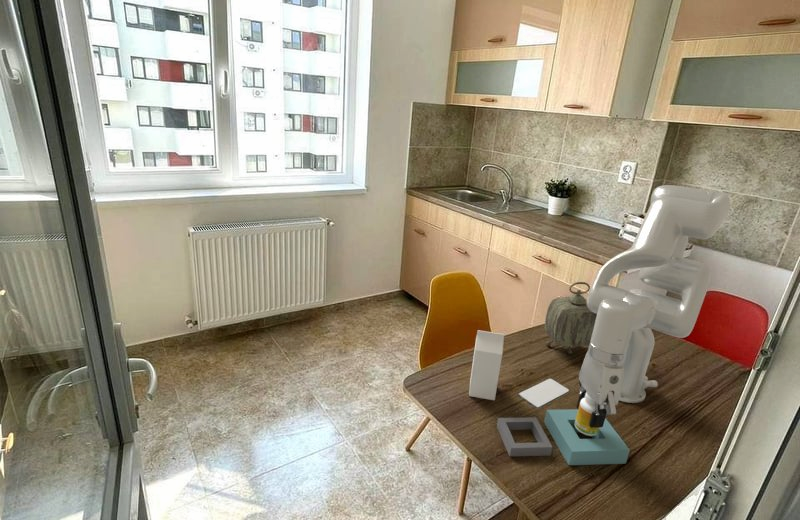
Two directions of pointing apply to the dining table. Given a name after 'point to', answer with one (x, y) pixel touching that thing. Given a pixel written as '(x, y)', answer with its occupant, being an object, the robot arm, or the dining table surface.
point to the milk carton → (486, 365)
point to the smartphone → (543, 392)
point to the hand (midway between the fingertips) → (589, 416)
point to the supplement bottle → (586, 416)
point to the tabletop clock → (570, 320)
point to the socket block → (585, 441)
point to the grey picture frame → (524, 448)
